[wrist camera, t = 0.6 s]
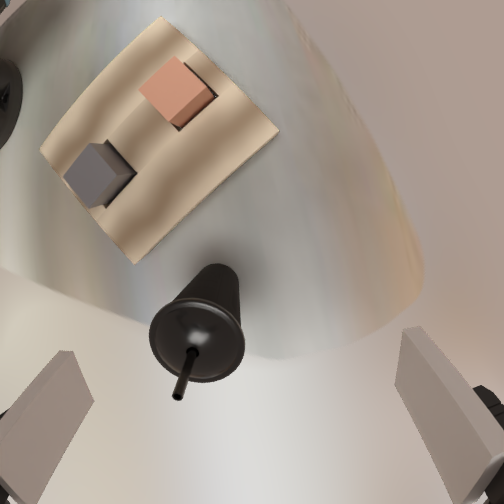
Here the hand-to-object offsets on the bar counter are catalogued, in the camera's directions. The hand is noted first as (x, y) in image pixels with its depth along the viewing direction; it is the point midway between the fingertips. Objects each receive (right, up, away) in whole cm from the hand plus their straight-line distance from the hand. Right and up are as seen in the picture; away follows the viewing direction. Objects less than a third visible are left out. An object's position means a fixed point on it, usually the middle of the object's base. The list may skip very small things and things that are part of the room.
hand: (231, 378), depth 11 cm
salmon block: (-6, +20, +18) cm, 28 cm away
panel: (-10, +17, +22) cm, 30 cm away
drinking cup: (-3, +1, +26) cm, 26 cm away
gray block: (-14, +13, +20) cm, 28 cm away
